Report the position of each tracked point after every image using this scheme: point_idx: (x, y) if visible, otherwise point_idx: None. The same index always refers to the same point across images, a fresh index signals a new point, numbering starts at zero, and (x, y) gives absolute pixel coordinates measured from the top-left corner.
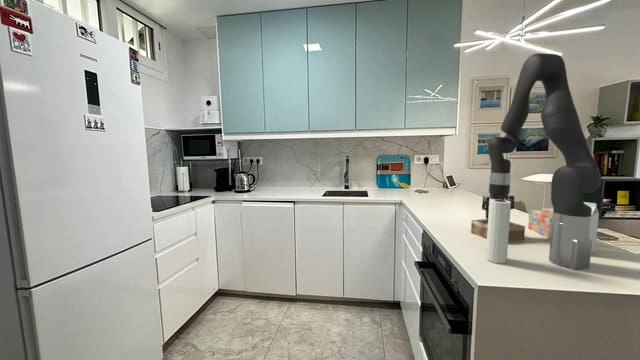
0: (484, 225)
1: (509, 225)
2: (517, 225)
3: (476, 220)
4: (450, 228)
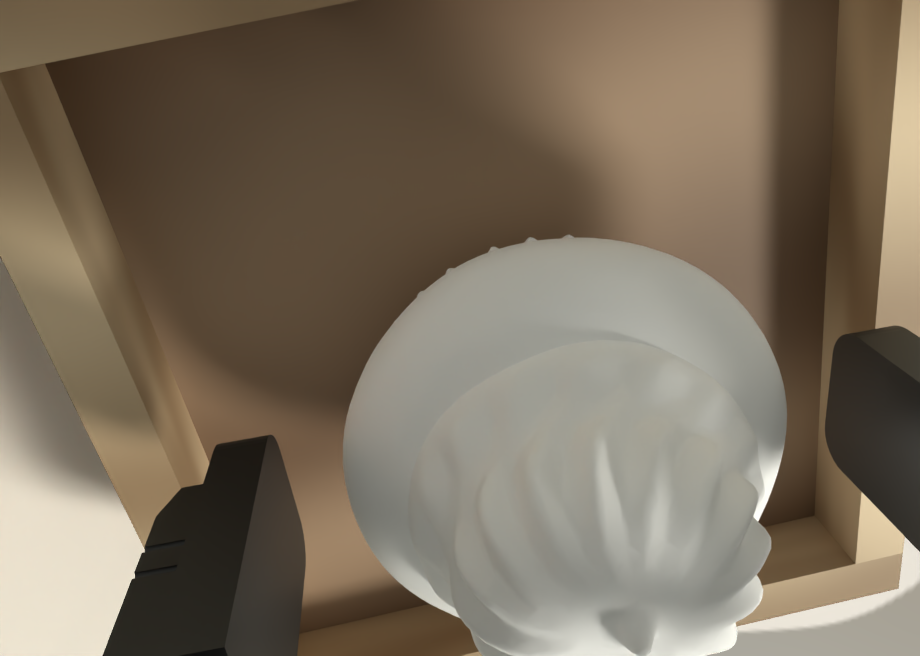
0: (914, 264)
1: (170, 379)
2: (58, 190)
3: (819, 573)
4: (883, 602)
